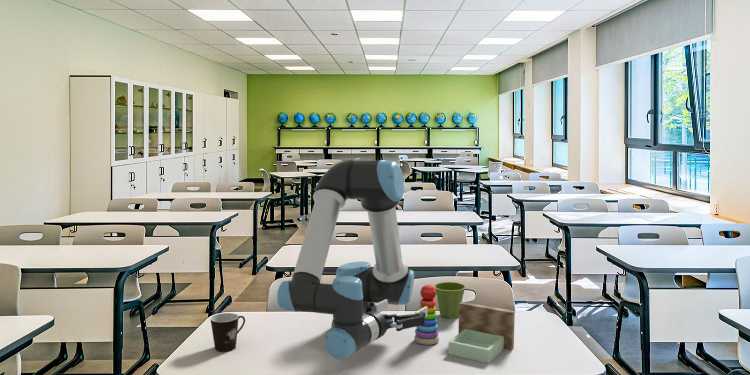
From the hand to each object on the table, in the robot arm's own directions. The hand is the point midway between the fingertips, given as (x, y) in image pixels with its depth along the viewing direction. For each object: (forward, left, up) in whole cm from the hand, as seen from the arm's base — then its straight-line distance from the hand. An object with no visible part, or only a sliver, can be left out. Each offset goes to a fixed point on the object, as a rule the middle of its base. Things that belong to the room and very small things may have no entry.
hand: (406, 307), depth 171 cm
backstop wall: (+17, +23, -15) cm, 32 cm away
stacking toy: (0, +15, -16) cm, 22 cm away
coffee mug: (-51, -22, -16) cm, 58 cm away
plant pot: (-4, +42, -16) cm, 45 cm away
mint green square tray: (+17, +15, -15) cm, 27 cm away
